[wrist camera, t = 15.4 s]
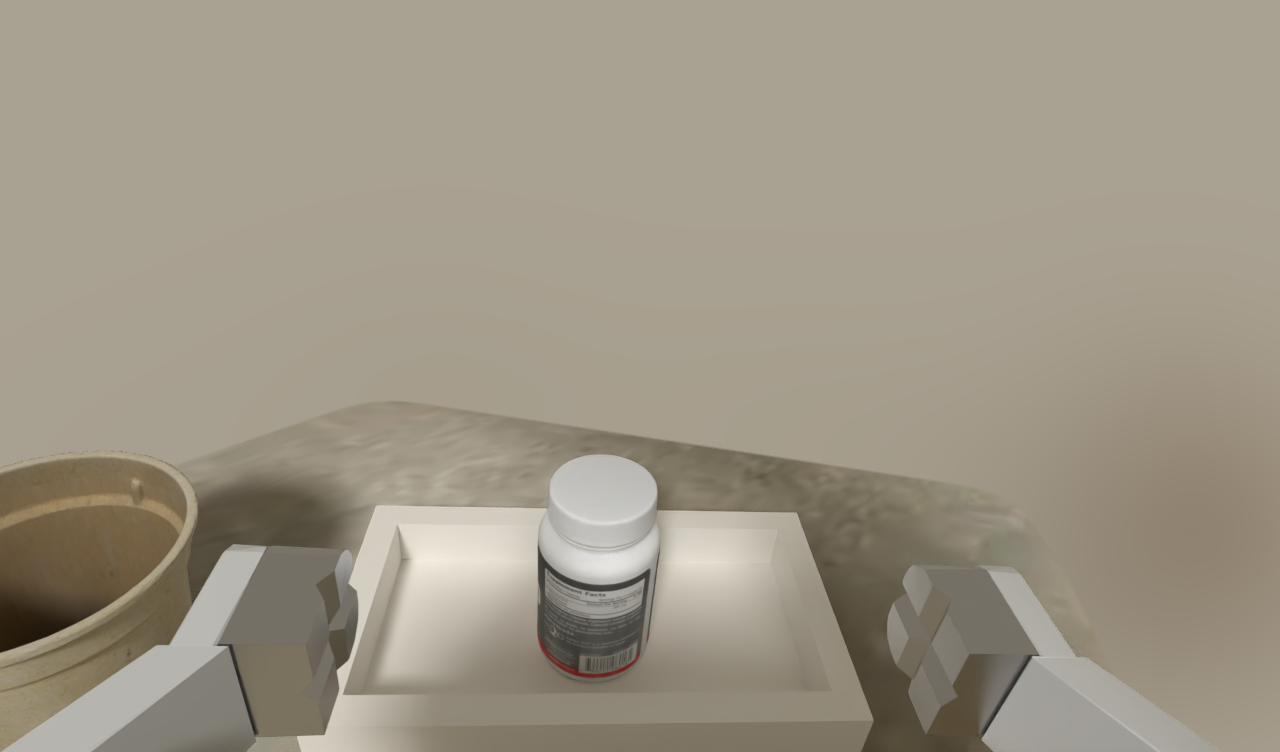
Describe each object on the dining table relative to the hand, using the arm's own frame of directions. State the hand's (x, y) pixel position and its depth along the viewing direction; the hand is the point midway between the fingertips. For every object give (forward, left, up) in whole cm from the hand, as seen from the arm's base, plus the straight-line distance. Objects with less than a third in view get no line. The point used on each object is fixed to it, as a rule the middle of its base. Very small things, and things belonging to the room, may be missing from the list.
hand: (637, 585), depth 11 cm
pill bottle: (0, +13, -18) cm, 22 cm away
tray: (0, +13, -18) cm, 22 cm away
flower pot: (-18, +10, -18) cm, 27 cm away
